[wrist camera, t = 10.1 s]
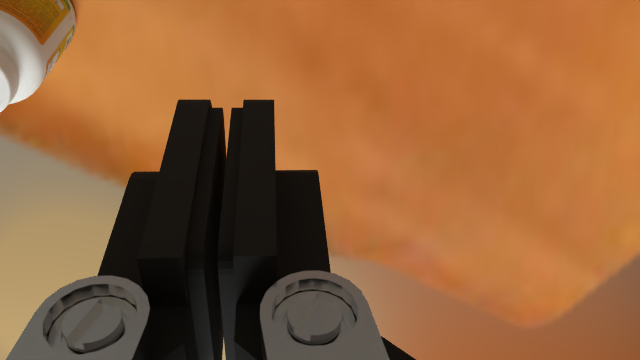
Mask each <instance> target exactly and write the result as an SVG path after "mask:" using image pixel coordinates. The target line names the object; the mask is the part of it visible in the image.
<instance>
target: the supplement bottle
mask: <svg viewBox="0 0 640 360" xmlns="http://www.w3.org/2000/svg"><path fill="white" fill-rule="evenodd" d="M75 28H76V17H75V12H74V9H73V6H72V4H71V2H70V0H0V112H1V111H3V110H4V109H5V108H6V107H7V105H8V104H12V103H16V102H19V101H21V100H24V99H26V98H27V97H29V96H30V95H32V94H33V93H34V92H35V91H36V90H37V88H38V87H39V86H40V85H41V84H42V82H43V80H44V79H45V78H46V76H47V75H48V73H49V72H50V70H51V69H52V68H53V66H54V65H55V63H56V62H57V60H58V59H59V57H60V56H61V54H62V53H63V52H64V50H65V49H66V47H67V46H68V44H69V43H70V41H71V39H72V37H73V35H74V32H75Z"/></svg>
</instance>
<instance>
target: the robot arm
mask: <svg viewBox="0 0 640 360" xmlns="http://www.w3.org/2000/svg"><path fill="white" fill-rule="evenodd" d="M223 338H224V343H225V354H226V360H416V359H414V358H413V357H411V356H410V355H408V354H407V353H405V352H404V351H402V350H401V349H399V348H398V347H396V346H395V345H393V344H392V343H391V342H389V341H388V340H386V339H385V338H383V337H382V336H380V333H379V331H378V328H377V325H376V323H375V320H374V318H373V315H372V312H371V310H370V307H369V304H368V302H367V300H366V299H365V297H364V295H363V294H362V292H361V290H359V288H357V287H356V286H355V285H354V284H353V283H352V282H350V281H349V280H347V279H345V278H343V277H341V276H338V275H337V274H334V273H331V272H330V264H329V256H328V247H327V239H326V231H325V223H324V215H323V207H322V199H321V191H320V183H319V175H318V171H317V170H275V126H274V100H244V102H243V108H232V110H231V120H230V130H229V139H228V149H227V159H226V144H225V129H224V115H223V108H212V105H211V101H210V100H178V103H177V106H176V110H175V114H174V118H173V122H172V126H171V129H170V133H169V137H168V141H167V145H166V149H165V152H164V156H163V160H162V164H161V168H160V172H134V173H132V174H131V176H130V178H129V181H128V184H127V187H126V190H125V193H124V196H123V199H122V203H121V206H120V209H119V212H118V215H117V218H116V221H115V224H114V227H113V230H112V233H111V236H110V239H109V242H108V245H107V248H106V251H105V255H104V257H103V260H102V264H101V267H100V270H99V273H98V276H93V277H89V278H85V279H81V280H77V281H75V282H73V283H71V284H68V285H66V286H64V287H62V288H60V289H59V290H57V291H56V292H55V293H54V294H52V295H51V296H50V297H48V298H47V299H46V300H45V301H44V302H43V303H42V304H41V306H40V307H39V308H38V309H37V310H36V312H35V313H34V315H33V316H32V318H31V320H30V321H29V323H28V325H27V326H26V328H25V329H24V331H23V333H22V334H21V336H20V338H19V339H18V341H17V342H16V344H15V346H14V347H13V349H12V350H11V352H10V354H9V355H8V357H7V359H6V360H222V350H223Z"/></svg>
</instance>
